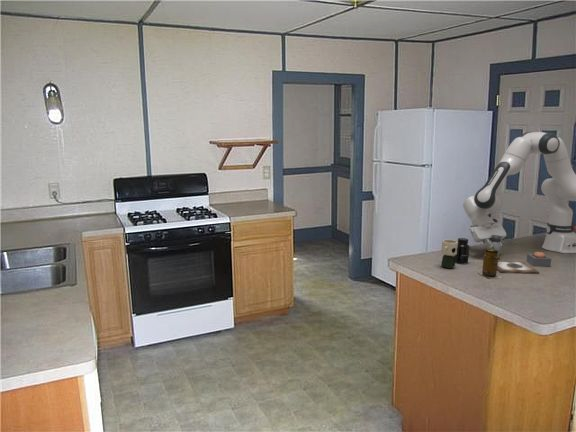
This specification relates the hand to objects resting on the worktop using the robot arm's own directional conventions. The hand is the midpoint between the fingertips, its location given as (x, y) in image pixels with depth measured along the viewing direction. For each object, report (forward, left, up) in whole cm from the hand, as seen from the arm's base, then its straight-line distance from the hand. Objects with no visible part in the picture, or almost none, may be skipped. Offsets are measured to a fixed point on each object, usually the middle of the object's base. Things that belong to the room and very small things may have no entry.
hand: (496, 246), depth 243 cm
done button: (-19, +6, -4) cm, 20 cm away
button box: (-19, +6, -7) cm, 21 cm away
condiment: (+12, +26, -7) cm, 30 cm away
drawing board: (-3, +14, -7) cm, 16 cm away
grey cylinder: (0, -1, -6) cm, 6 cm away
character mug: (+28, +15, -7) cm, 33 cm away
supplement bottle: (+19, +6, -7) cm, 21 cm away
